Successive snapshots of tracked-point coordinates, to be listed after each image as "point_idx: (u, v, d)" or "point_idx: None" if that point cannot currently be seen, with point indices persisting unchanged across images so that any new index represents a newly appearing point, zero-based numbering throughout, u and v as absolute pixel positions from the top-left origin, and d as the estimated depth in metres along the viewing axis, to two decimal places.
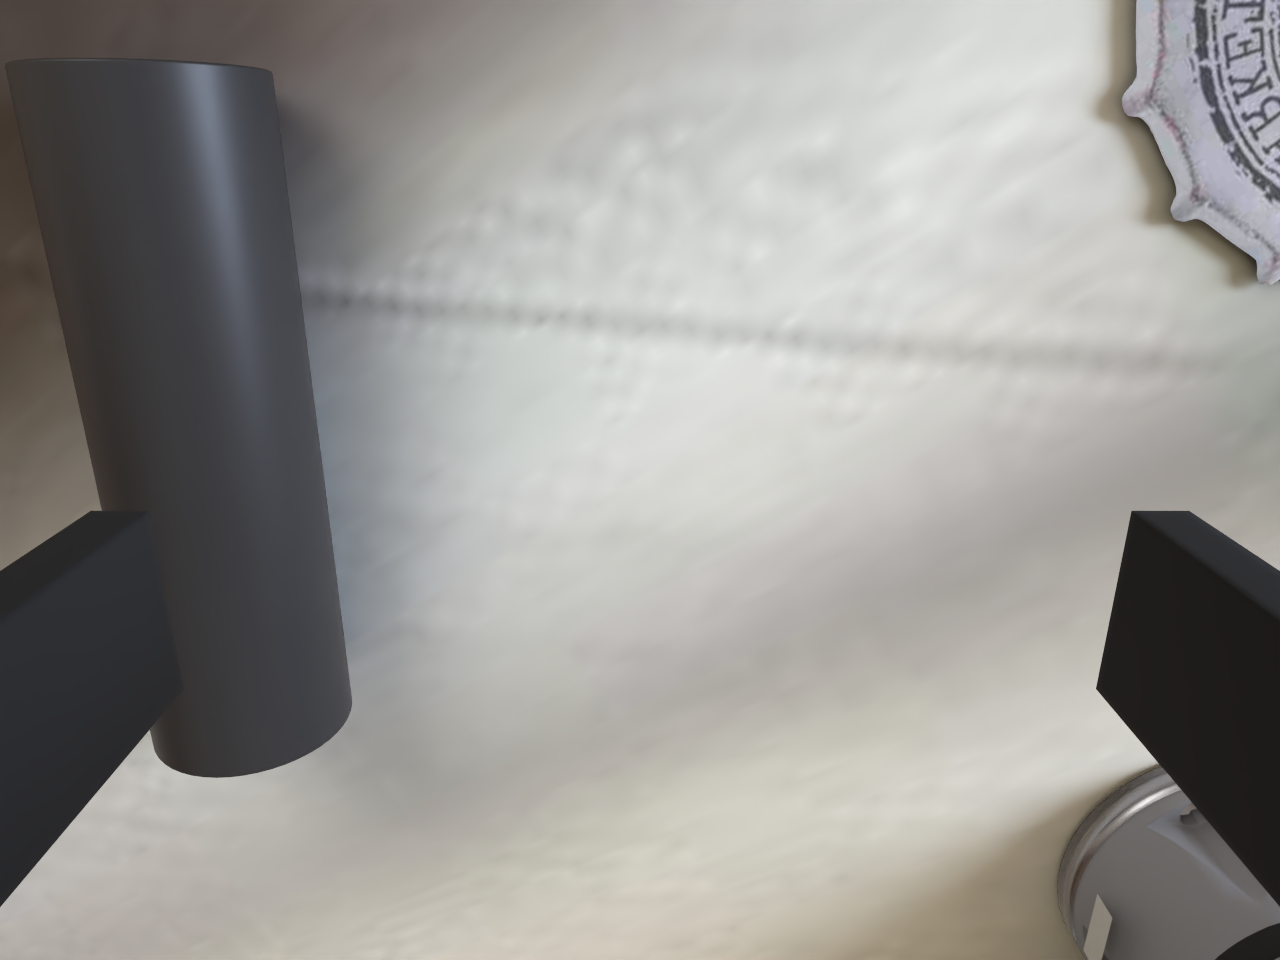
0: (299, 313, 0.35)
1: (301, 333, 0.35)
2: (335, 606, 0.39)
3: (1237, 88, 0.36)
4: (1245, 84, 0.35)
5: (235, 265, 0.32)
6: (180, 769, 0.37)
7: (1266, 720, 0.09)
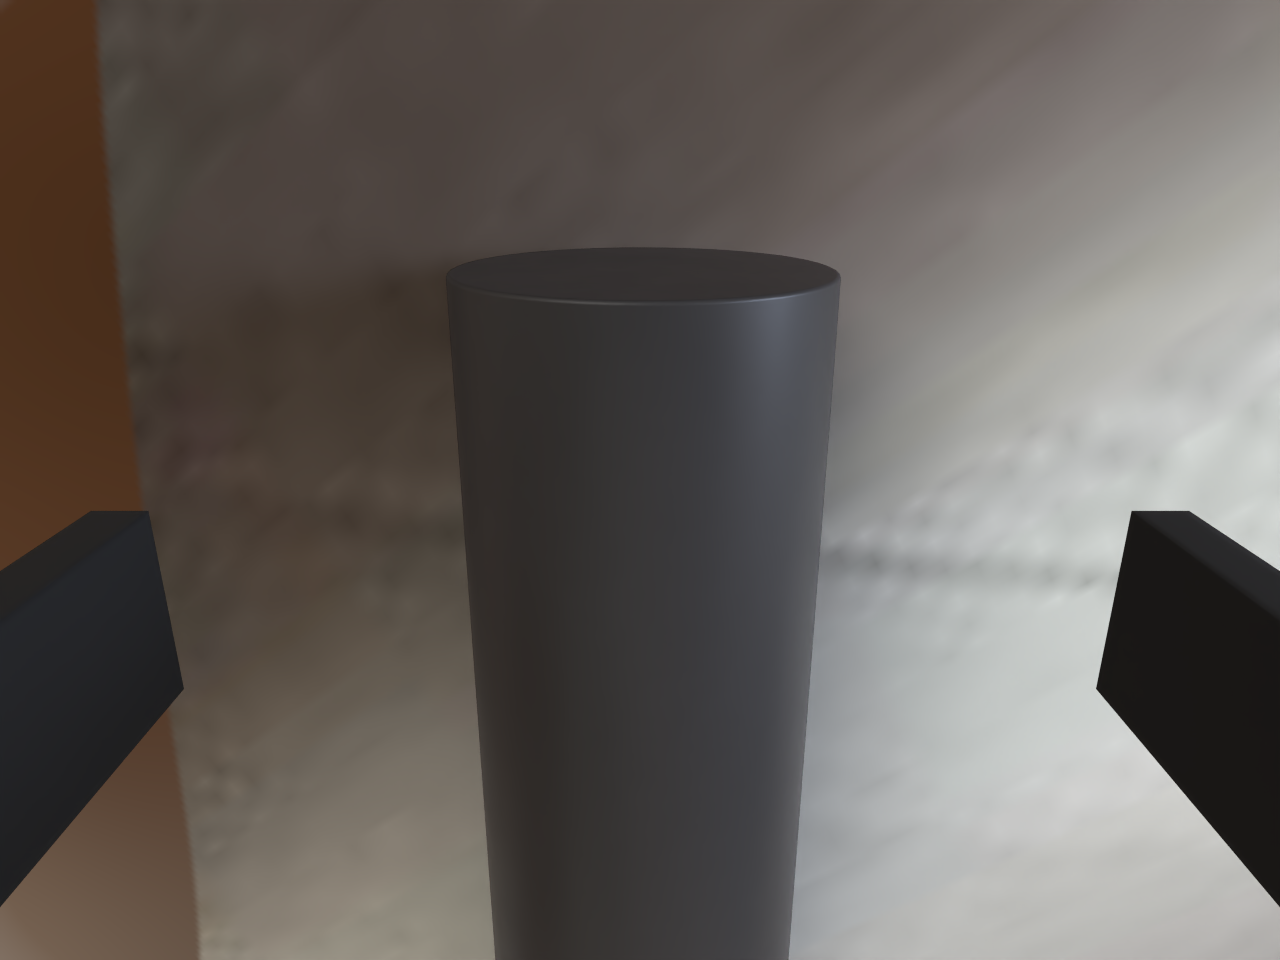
0: None
1: None
2: None
3: None
4: None
5: (795, 594, 0.19)
6: None
7: (1266, 720, 0.09)
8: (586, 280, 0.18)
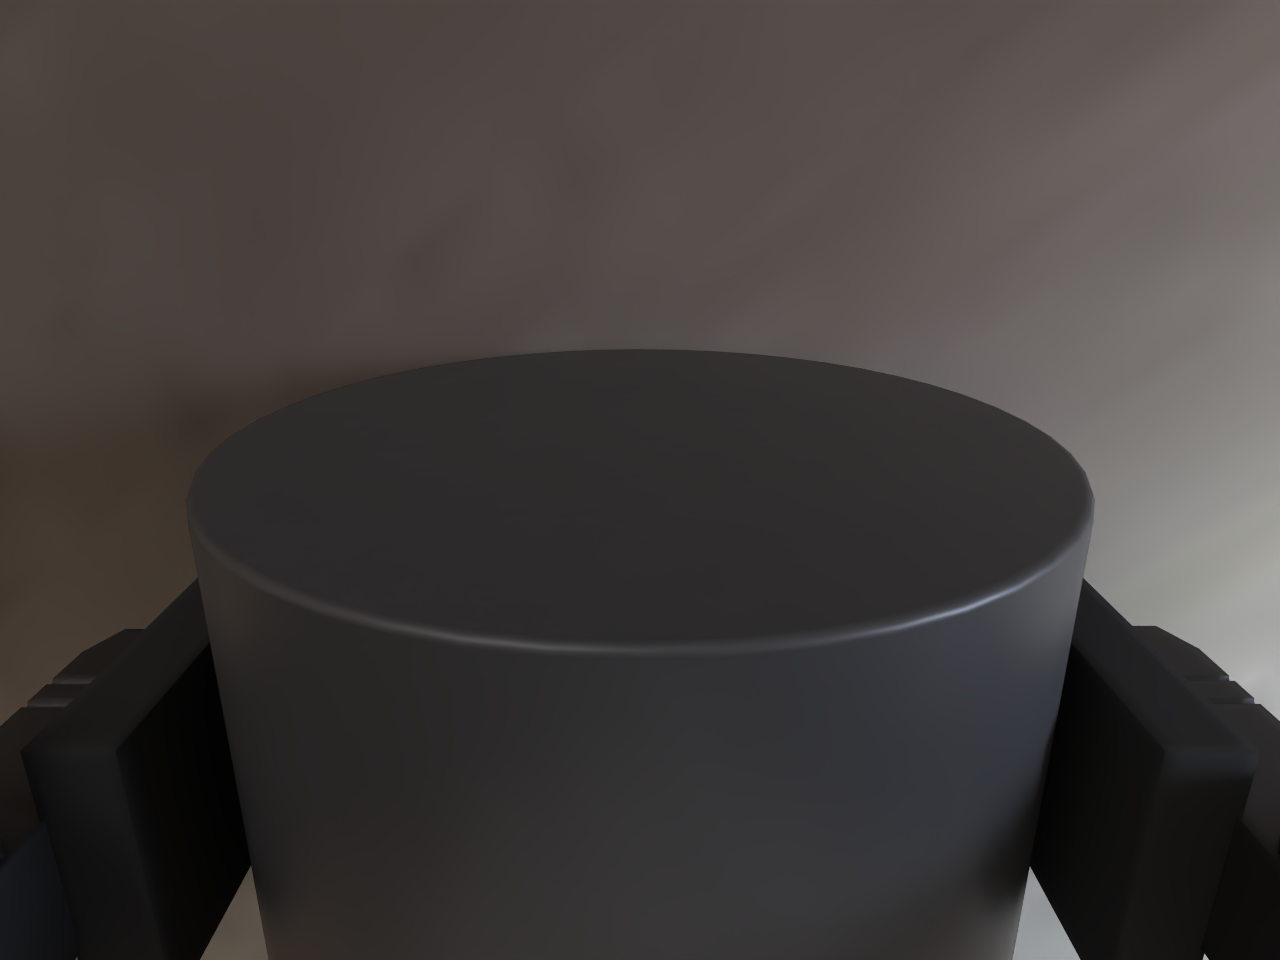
0: None
1: None
2: None
3: None
4: None
5: None
6: None
7: None
8: (505, 495, 0.08)
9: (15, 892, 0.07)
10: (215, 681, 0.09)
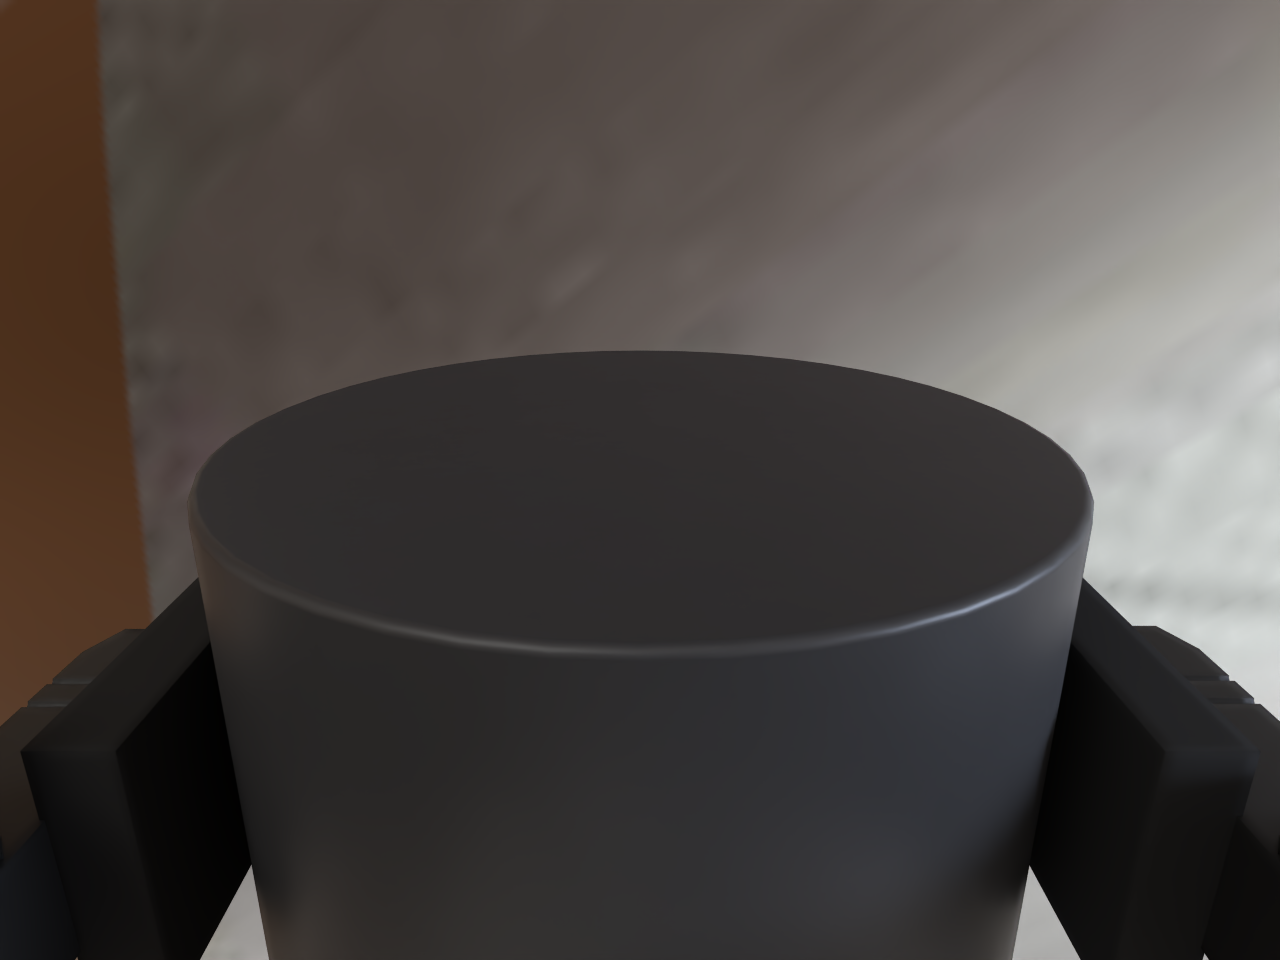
0: None
1: None
2: None
3: None
4: None
5: None
6: None
7: None
8: (506, 497, 0.08)
9: (15, 890, 0.07)
10: (215, 681, 0.09)
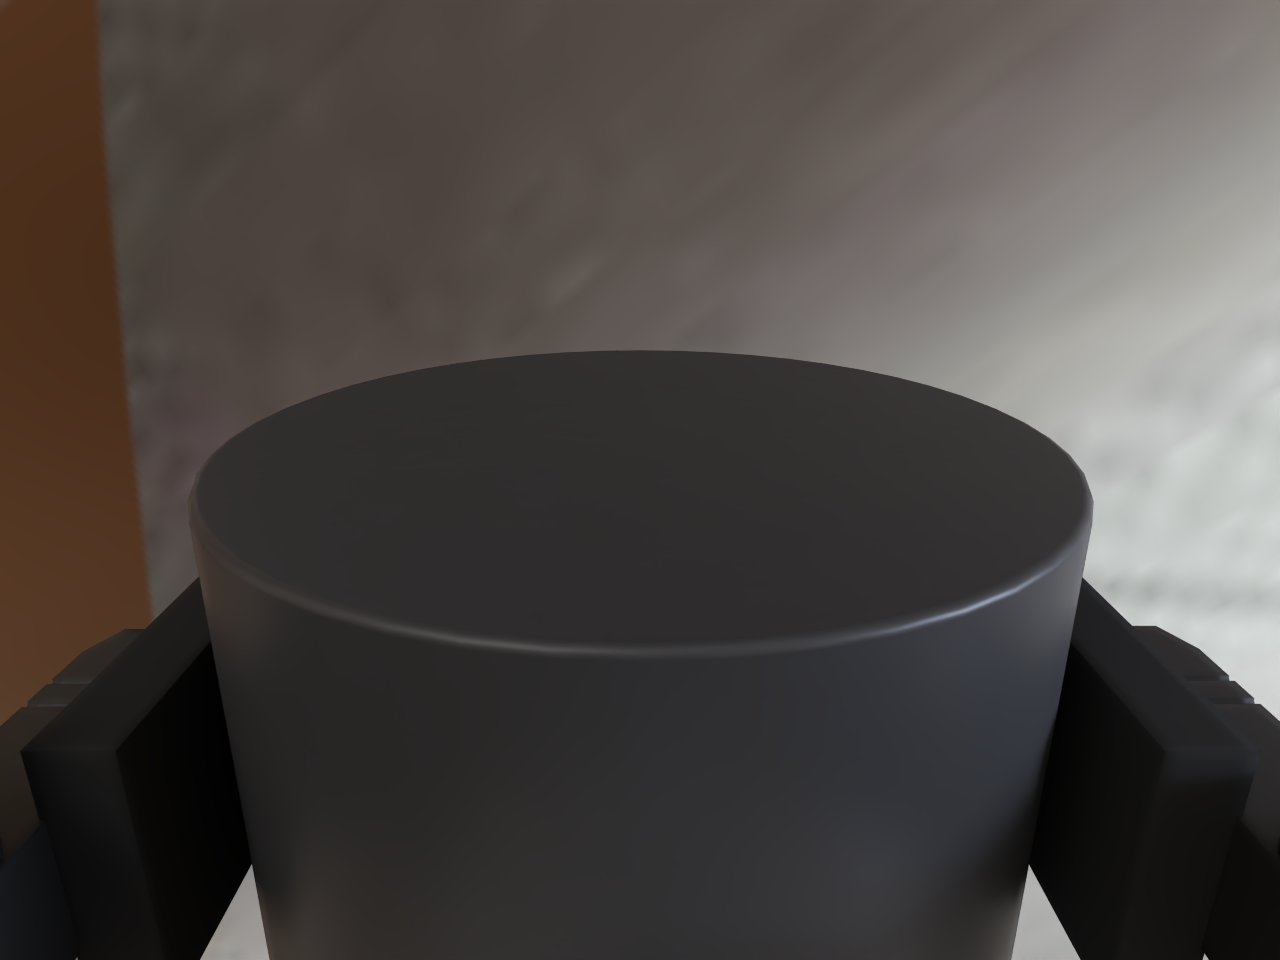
0: None
1: None
2: None
3: None
4: None
5: None
6: None
7: None
8: (506, 496, 0.08)
9: (15, 892, 0.07)
10: (214, 681, 0.09)
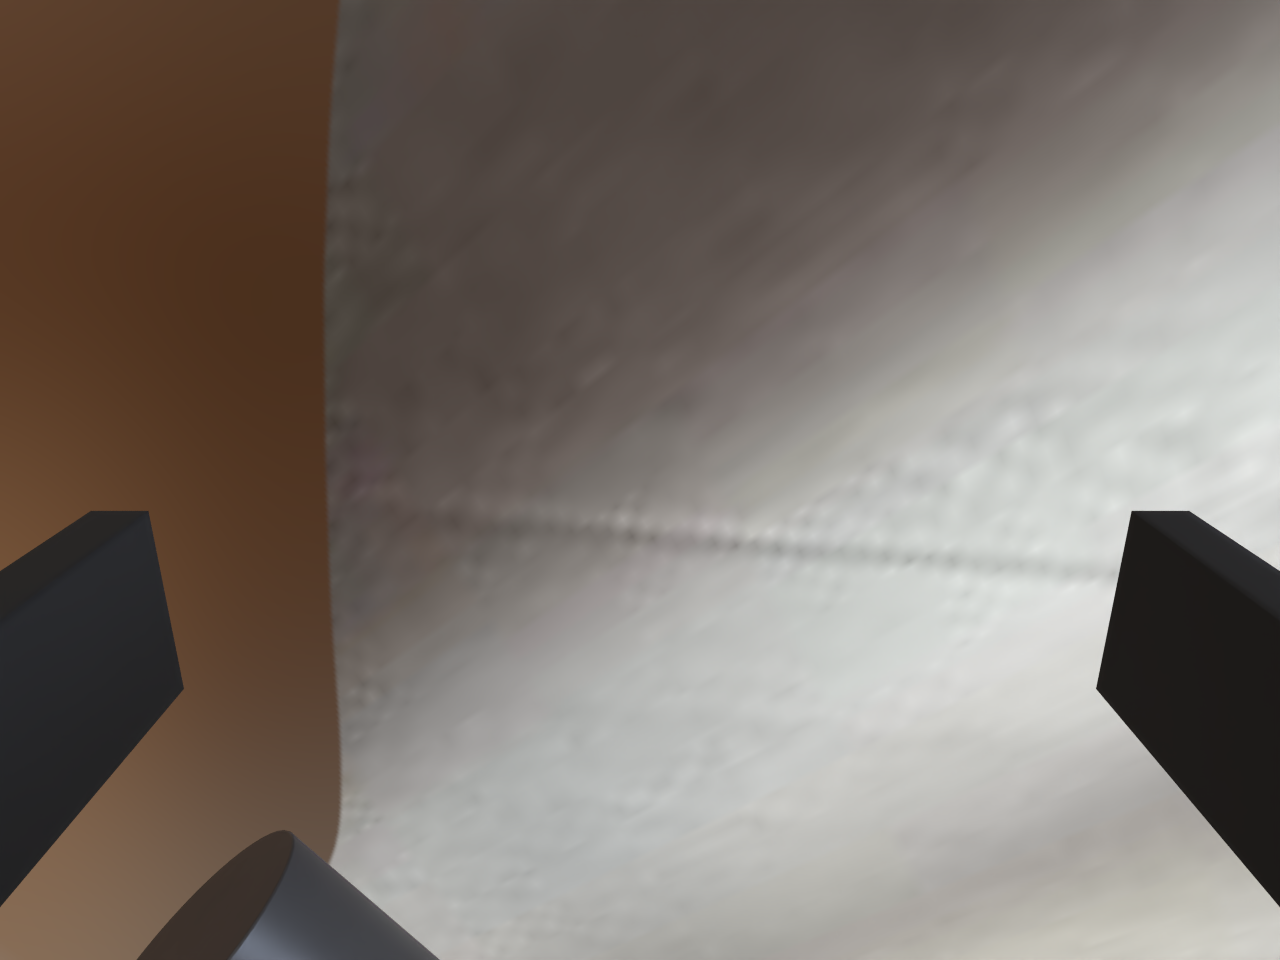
0: None
1: None
2: None
3: None
4: None
5: None
6: None
7: (1266, 720, 0.09)
8: None
9: None
10: None
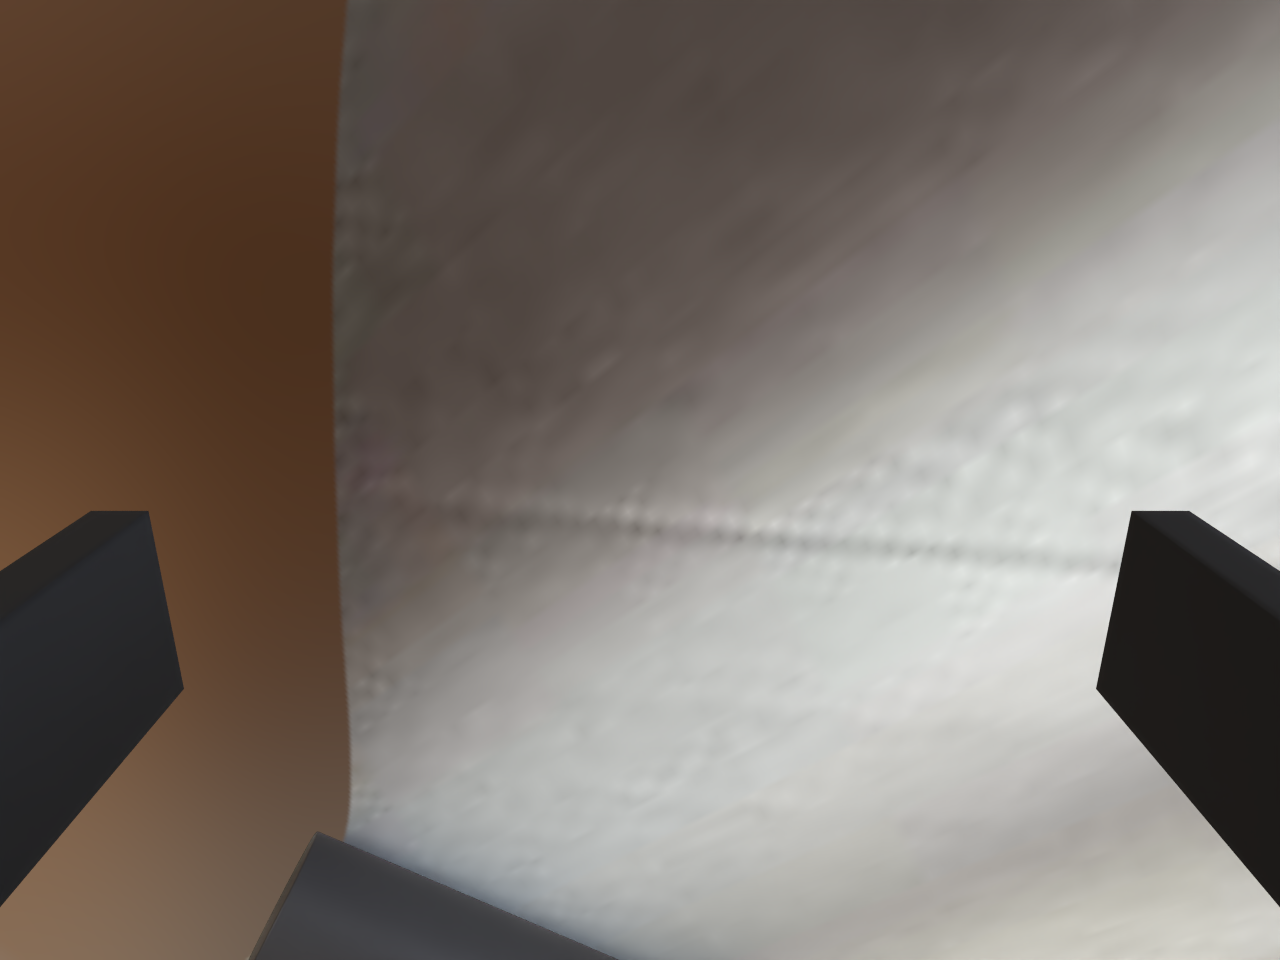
0: (466, 916, 0.47)
1: (480, 923, 0.47)
2: None
3: None
4: None
5: None
6: None
7: (1266, 720, 0.09)
8: (253, 955, 0.45)
9: None
10: None
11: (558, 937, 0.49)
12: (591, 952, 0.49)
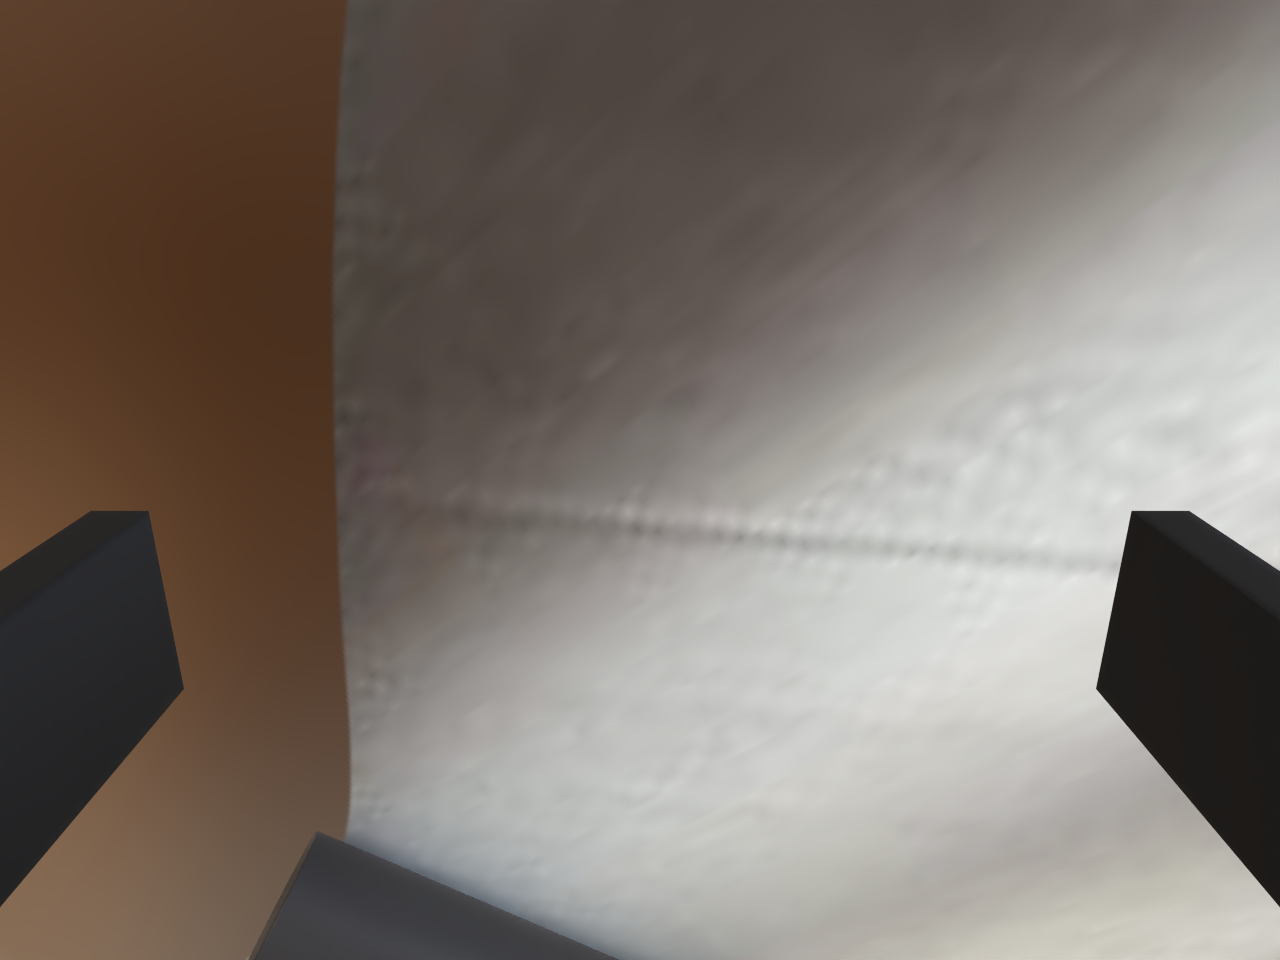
0: (466, 916, 0.47)
1: (480, 923, 0.47)
2: None
3: None
4: None
5: None
6: None
7: (1266, 720, 0.09)
8: (253, 955, 0.45)
9: None
10: None
11: (558, 937, 0.49)
12: (591, 952, 0.49)
